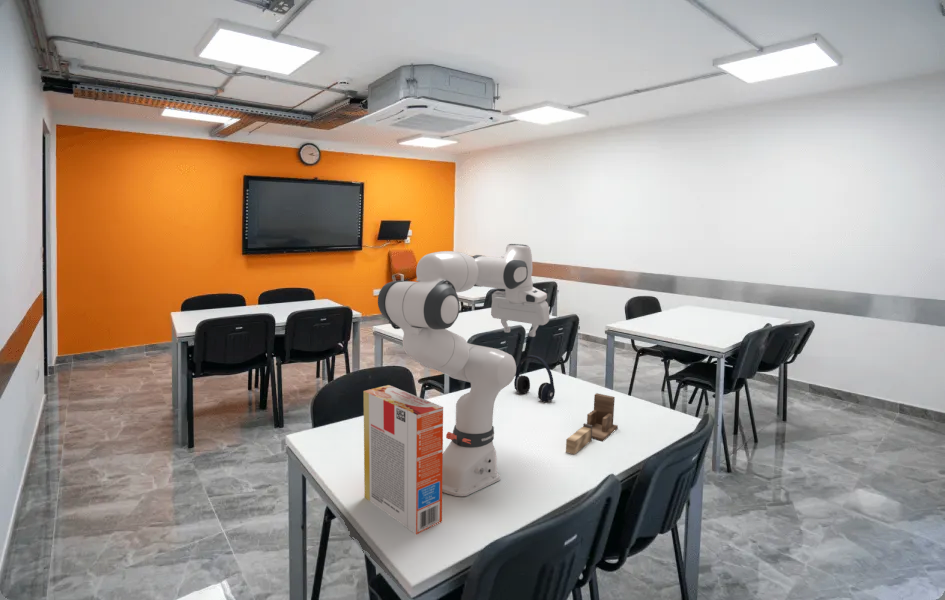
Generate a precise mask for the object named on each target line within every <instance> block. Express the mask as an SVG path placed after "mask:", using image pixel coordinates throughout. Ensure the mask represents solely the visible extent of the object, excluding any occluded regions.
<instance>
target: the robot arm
mask: <svg viewBox="0 0 945 600" xmlns="http://www.w3.org/2000/svg"><path fill="white" fill-rule="evenodd" d="M533 268H534V267H533V255H532V250H531V247H530V246H529V245H528V244H521V243H509V244H507V245H506V248H505V253H504V254H503V255H502V256H501V257H498V256H487V255H482V254H475V255H473V256H472V255H469V254H467V253H464V252H460V251H454V250H453V251H451V250H444V251H443V250H442V251H435V252H431V253H427V254H425V255H423V256H422V257H421V258H420V259H419V260H418V263H417V266H416V268H415V269H416V272H415V274H416V279H415V281H404V280H392V281H390V282H387V283H385V284H384V285H383V286H382V287H381V289H380V290H379V293H378V296H377V306H378V309H379V311H380V313H381V316H383V317H384V318H385V319H386V321H388V322H389V324H390V325H391V327H392V328H393V329H395V330H399V329H401V330H402V332H403V337H402V348H403V350H404V352H405V354H406V355H407V356H408V357H410V358H411V359H412V360H414V361H415V362H417V363H418V364H420V365H422V366H424V367H427V368H430V369H432V370H434V371H437V372H440V373H442V374H443V375H446V376H448V377H450V378H452V379H455V380H459V381H464V382H467V383H470V390H469V392H466V393H464V394H462V395H461V396H460V397H459V398H458V399H457V401H456V403H455V425H454V427H453V430H452V432H450V431H447V433H446V435H445V437H446V439H447V440H450V442H449V444H447V445H448V446H447V447H446V448H445V449H444V450H443V465H442V493H444V494H448V495H449V496H454V497H455V496H456V497H467V496H469V495H471V494H473V493H475V492H477V491H481V490H482V489H484V488H486V487H488V486H490V485H493V484H494V483H497V482H499V481H500V480H501V475H500V474H499V472H498V463H497V459H498V458H497V451H496V448H495V446H494V442H493V440H495V439H494V438H495V437H494V436H495V431H494V430H495V427H494V426H493V422H494V421H493V419H494V409H495V401H496V399H497V398H498V397H497V396H498V395H499V393H500V392H501V390H503V389H504V388H506V387H508V386H509V385H510V384H511V383H512V382H513V380H515V377H516V371H517V365H516V360H515V358H514V357H513V355H512V354H509V353H508V352H506V351H503V350H502V349H500V348H499V349H498V348H495V347H494V348H493V347H491V346H490V347H489V346H484V345H478V344H473V343H469V342H468V341H467V339H465V338H464V337H463V336H461V335H459V334H457V333H454V332H453V331H450V330H448V329H449V328H450V327H452V326H453V325H454V324H455V322H456V321H457V319H458V317H459V313H460V308H461V306H460V300H459V296H458V293H462V292H466V291H469V290H471V289H472V288H473V287H477V288H478V287H480V288H481V287H483V288H491V289H492V288H493V289H499V290H496V291H494V292H493V293H491V308H490V309H491V311H490V315H491V317H492V318H493V319H498V320H500V323H501V324H502V325H501V326H502V327H503V332H504V333H511V326H509V324H508V321H509V322H510V321H511V322H517V323H524V324H531V327H532V329H531V330H529V331H528V336H529V337H532V338H534V337H536V331H537V330H538V328H539V326H544V325H546V324H548V323H549V321H550V306H549V304H548V302H547V301H546V300H547V299H548V293H546V292H545V291H542V290H541V289H538V288H536V287H534V286H533V285H534V284H533V280H532V275H533V270H534V269H533ZM500 290H505V291H500Z"/></svg>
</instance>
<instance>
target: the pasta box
mask: <svg viewBox="0 0 945 600" xmlns="http://www.w3.org/2000/svg"><path fill="white" fill-rule="evenodd" d="M443 442H444V406H442V405H440V404H437V403H435V402H431V401H429V400H427V399H424V398H422V397H420V396H417V395H414V394H412V393H409V392H408V391H405V390H402V389H399V387H398V388H397V387H395V386H393V385H390V384H387V385H383V386H378V387H375V388H371V389H370V388H369V389H367V390H363V455H364V456H363V458H364V459H363V460H364V461H363V464H364V465H363V466H364V467H363V470H364V471H363V473H364V474H363V475H364V477H363V478H364V498H365V499H366V500H368V501H369V502H370V503H372V504H374V505H375V506H376V507H377V508H379V509H380V510H382V511H383V512H384V513H386V514H387V515H388V516H390V517H391V518H393V519H394V520H395V521H397V522H398V523H400V524H401V525H403V526H404V527H405V528H407V529H408V530H410V532H412V533H414V534H416V535H418V534H420V533H422V532H424V531H425V530H428V529H430V528H432V527H434V526H436V525H438V524H440V523H442V522H441V521H443V520H442V519H443V492H442V465H443V453H444V450H443V449H444V447H443V446H444V445H443V444H444V443H443ZM439 522H440V523H439ZM437 523H438V524H437ZM435 524H436V525H435ZM433 525H434V526H433ZM431 526H432V527H431ZM429 527H430V528H429Z"/></svg>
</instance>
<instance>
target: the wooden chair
mask: <svg viewBox="0 0 945 600" xmlns="http://www.w3.org/2000/svg"><path fill="white" fill-rule="evenodd" d="M593 397H594V398H593V399H594V400H593V410H592V411H590V412H589V413H587V416H586V424H589V425H592V438H593V439H592V440H596V439H597V441H600V442H604V441H605V440H606V439H607V438H608V437H609V436H610V435H612V434H613V433H614V432H615V431H616V430H617V429H618V427H619V426H618V425H617V424H614V417H615V416H614V414H615V398H616V397H615V396H611V395H607V394H602V393H598V392H596V393H595V394H594V396H593ZM581 428H582V427H580V428H579V429H581ZM614 430H615V431H614ZM577 431H578V430H576V431H575V432H577ZM613 431H614V432H613ZM612 432H613V433H612ZM611 433H612V434H611ZM604 439H605V440H604ZM603 440H604V441H603Z"/></svg>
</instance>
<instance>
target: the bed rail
mask: <svg viewBox="0 0 945 600" xmlns="http://www.w3.org/2000/svg"><path fill="white" fill-rule="evenodd" d="M580 428H581V429H580ZM580 428H579V429H577V430H576V431H577V432H576V431H575V432H574V433H573V434H572V435H570V436H569V437H567V438H566V442H565V453H569V454H572V455H575V454H578V452H579V451H580V450H582V449H583V448H584V447H585V446H587V445H588V444H589V443H590V442H591V441H592V440H593V439H592V425H589V424H587V423H583V425H582V427H580ZM588 442H589V443H588ZM587 443H588V444H587ZM581 448H582V449H581Z"/></svg>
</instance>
